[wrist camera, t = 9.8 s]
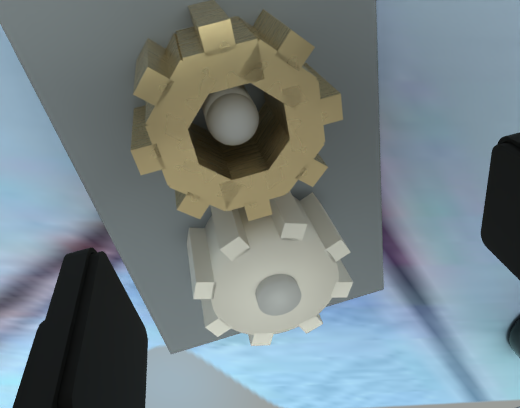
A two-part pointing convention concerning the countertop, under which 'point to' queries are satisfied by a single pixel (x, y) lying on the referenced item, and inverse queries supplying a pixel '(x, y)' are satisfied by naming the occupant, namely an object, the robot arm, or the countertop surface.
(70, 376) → the robot arm
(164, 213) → the gear board
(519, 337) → the supplement bottle
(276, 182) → the brass gear
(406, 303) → the countertop surface
